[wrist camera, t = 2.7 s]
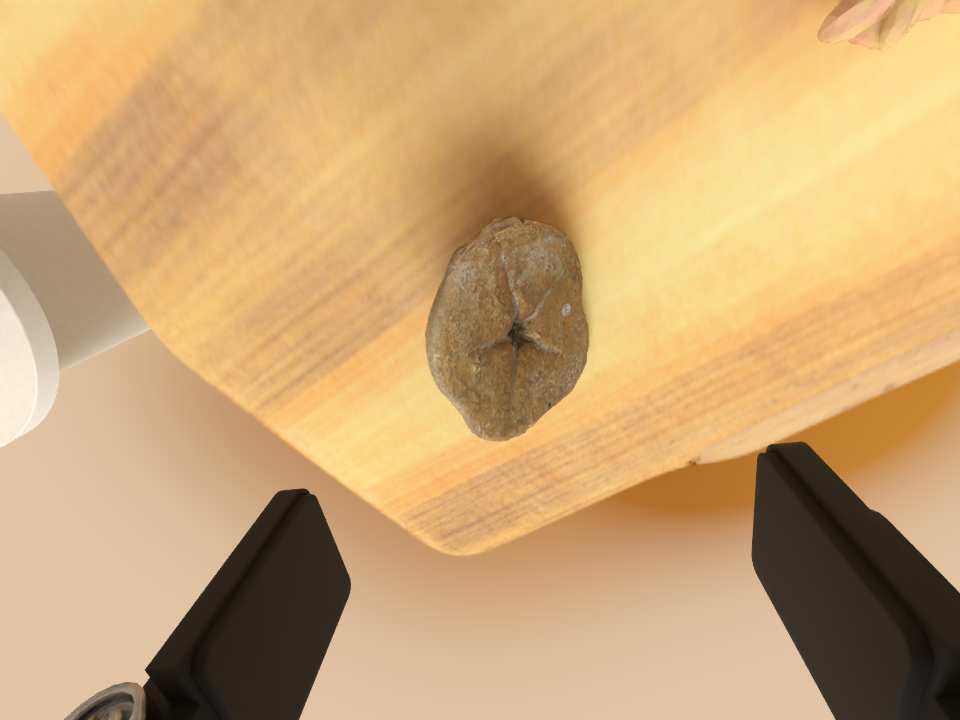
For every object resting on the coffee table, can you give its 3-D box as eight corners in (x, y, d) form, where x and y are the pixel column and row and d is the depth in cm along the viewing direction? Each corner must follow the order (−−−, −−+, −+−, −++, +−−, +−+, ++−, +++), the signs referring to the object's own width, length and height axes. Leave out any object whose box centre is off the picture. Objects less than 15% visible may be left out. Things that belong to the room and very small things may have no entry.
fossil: (492, 480, 20) (399, 290, 15) (438, 442, 24) (344, 274, 18) (612, 364, 24) (572, 175, 18) (551, 344, 27) (501, 178, 22)
